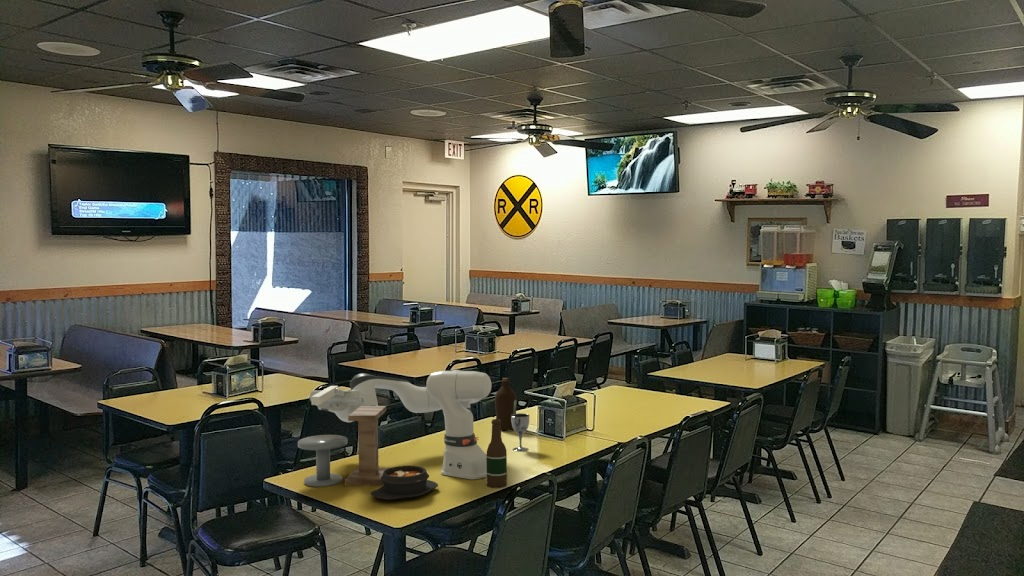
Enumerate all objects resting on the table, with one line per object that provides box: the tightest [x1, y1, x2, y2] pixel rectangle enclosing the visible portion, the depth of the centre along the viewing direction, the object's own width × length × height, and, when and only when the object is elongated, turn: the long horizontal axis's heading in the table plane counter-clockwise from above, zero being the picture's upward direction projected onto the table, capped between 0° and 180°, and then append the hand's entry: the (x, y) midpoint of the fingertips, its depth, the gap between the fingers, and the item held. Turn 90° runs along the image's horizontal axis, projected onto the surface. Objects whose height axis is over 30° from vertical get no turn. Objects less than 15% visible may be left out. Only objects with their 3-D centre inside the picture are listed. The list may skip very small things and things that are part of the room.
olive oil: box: [494, 377, 518, 431], centre depth 361 cm, size 11×11×25 cm
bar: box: [310, 385, 339, 406], centre depth 282 cm, size 24×3×3 cm, turn 177°
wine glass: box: [511, 412, 530, 453], centre depth 321 cm, size 8×8×15 cm
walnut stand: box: [344, 405, 390, 486], centre depth 279 cm, size 18×14×26 cm
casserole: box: [370, 465, 439, 501], centre depth 260 cm, size 25×19×8 cm
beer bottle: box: [486, 418, 508, 489], centre depth 270 cm, size 8×8×24 cm
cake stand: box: [297, 434, 348, 488], centre depth 277 cm, size 18×18×16 cm
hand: (331, 390), depth 289 cm, fingers closed on bar, 3 cm apart
